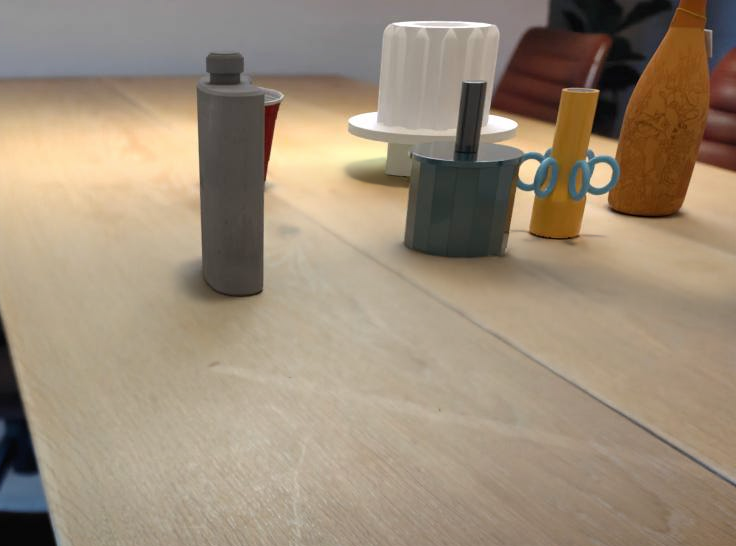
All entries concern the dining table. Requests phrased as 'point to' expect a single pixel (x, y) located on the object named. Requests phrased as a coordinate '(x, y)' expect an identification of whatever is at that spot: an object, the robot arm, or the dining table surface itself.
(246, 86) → the flask
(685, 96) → the wine bottle
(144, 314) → the dining table surface
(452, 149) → the lid
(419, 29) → the flanged gear
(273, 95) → the plastic cup
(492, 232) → the pot
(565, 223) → the cylinder
